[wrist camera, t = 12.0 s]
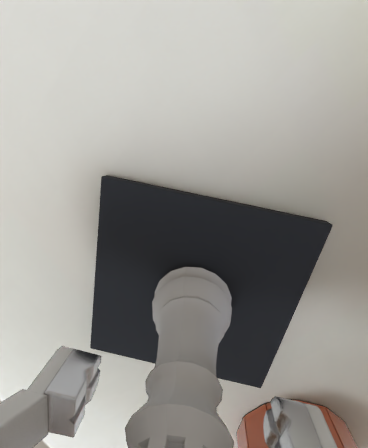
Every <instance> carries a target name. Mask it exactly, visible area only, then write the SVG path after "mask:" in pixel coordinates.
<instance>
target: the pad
mask: <svg viewBox="0 0 368 448" xmlns="http://www.w3.org/2000/svg"><path fill="white" fill-rule="evenodd" d="M331 228H332V224H330V223H329V222H327V221H323V220H318V219H313V218H308V217H304V216H299V215H294V214H289V213H284V212H280V211H275V210H270V209H265V208H261V207H256V206H251V205H246V204H241V203H237V202H232V201H227V200H222V199H217V198H213V197H208V196H203V195H198V194H194V193H189V192H184V191H179V190H174V189H170V188H165V187H160V186H155V185H151V184H146V183H141V182H136V181H131V180H127V179H122V178H117V177H112V176H108V175H106V176H102V180H101V196H100V211H99V226H98V241H97V256H96V272H95V287H94V302H93V317H92V333H91V348H92V349H96V350H101V351H105V352H109V353H113V354H118V355H122V356H126V357H130V358H135V359H139V360H143V361H147V362H152V363H156V359H157V352H158V341H159V335H158V333H157V331H156V325H155V323H154V321H153V309H152V301H153V299H154V297H155V290H156V288H157V286H158V283H159V281H160V280H161V279H162V278H163V277H164V276H166V275H167V274H168V273H169V272H170V271H173V270H176V269H180V268H183V267H197V268H203V269H205V270H208V271H210V272H212V273H215V274H216V275H217V276H218V277H219V278H220V279H222V280H223V281H224V282H225V283H226V284H227V287H228V289H229V292H230V294H231V297H232V300H231V307H232V314H231V322H230V326H229V328H228V329H227V331H226V332H225V334H224V337H223V338H222V340H221V341H220V343H219V345H218V351H217V360H216V377H217V378H220V379H224V380H229V381H233V382H237V383H241V384H246V385H250V386H254V387H258V388H261V387H262V384H263V382H264V380H265V377H266V375H267V373H268V371H269V368H270V366H271V364H272V362H273V359H274V357H275V355H276V353H277V350H278V348H279V346H280V343H281V341H282V339H283V337H284V334H285V332H286V330H287V328H288V325H289V323H290V321H291V319H292V316H293V314H294V312H295V310H296V307H297V305H298V303H299V300H300V298H301V296H302V294H303V291H304V289H305V287H306V285H307V282H308V280H309V278H310V276H311V273H312V271H313V269H314V266H315V264H316V262H317V260H318V257H319V255H320V253H321V251H322V248H323V246H324V244H325V242H326V239H327V237H328V235H329V233H330V230H331Z"/></svg>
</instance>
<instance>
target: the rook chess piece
mask: <svg viewBox="0 0 368 448" xmlns="http://www.w3.org/2000/svg"><path fill="white" fill-rule="evenodd" d="M231 300H232V297H231V294H230V292H229V289H228V287H227V284H226V283H225V282H224V281H223V280H222V279H220V278H219V277H218V276H217V275H216V274H215V273H212V272H210V271H208V270H205V269H203V268H197V267H183V268H180V269H176V270H173V271H170V272H169V273H168V274H167V275H166V276H164V277H163V278H162V279H161V280H160V281H159V283H158V286H157V288H156V290H155V297H154V299H153V301H152V309H153V321H154V323H155V325H156V331H157V333H158V335H159V341H158V352H157V359H156V364H155V368H154V369H153V370H152V371H151V372H150V373H149V375H148V377H147V379H146V392H147V395H148V401H147V403H146V404H144V405H143V406H142V407H141V408H140V409H139V410H138V411H137V412H136V413H134V414H133V415H132V416H131V418H130V420H129V422H128V424H127V425H126V427H125V432H126V441H127V445H128V448H233V445H234V441H233V439H232V437H231V435H230V433H229V431H228V429H227V427H226V426H225V424H224V423H223V421H222V420H221V418H220V417H219V416H218V414H217V410H216V407H217V406H218V404H219V403H220V402H221V401H222V392H223V389H222V387H221V385H220V382H219V380H218V378H217V377H216V360H217V351H218V345H219V343H220V341H221V340H222V338H223V337H224V334H225V332H226V331H227V329H228V328H229V326H230V322H231V314H232V307H231Z"/></svg>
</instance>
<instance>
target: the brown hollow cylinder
mask: <svg viewBox="0 0 368 448" xmlns="http://www.w3.org/2000/svg"><path fill="white" fill-rule="evenodd" d="M294 401H295V400H294ZM296 401H298V402H302V403H305V404H310V405H314V406H317V407H319V409H320V410H321V412H322V414H323V416H324V418H325V421H326V423H327V425H328V427H329V430H330V432H331V434H332V436H333V439H334V441H335V443H336V446H337V448H358V447H357V445H356V443H355V441H354V439H353V437H352V435H351V433H350V431H349V429H348V427H347V425H346V423H345V422H344V421H343V420H342V419H340V418H339V417H338V416H337V415H335V414H334V413H333V412H332V411H330V410H329V409H328V408H327V407H324V406H321V405H316V404H312V403H308V402H304V401H299V400H296ZM271 408H272V407H271V403H266V404H263V405H262V406H260V407H258V408H257V409H255V410H253V411H252V412H250V413H248V414H247V415H245V417H243V419H242V422H241V424H240V426H239V429H238V431H237V443H238V448H268V446H267V444H266V443H265V438H264V431H263V422H264V416H265V413H266V411H267V410H269V409H271Z"/></svg>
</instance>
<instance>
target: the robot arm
mask: <svg viewBox="0 0 368 448" xmlns="http://www.w3.org/2000/svg"><path fill="white" fill-rule="evenodd" d="M100 363H101V356H100V355H96V354H92V353H88V352H84V351H80V350H76V349H73V348H69V347H65V346H61V347H60V348H59V349H57V351H56V352H55V353H54V355H53V356H52V357H51V359H50V360H49V361H48V363H47V364H46V365H45V366H44V368H43V369H42V370H41V372H40V373H39V374H38V376H37V377H36V378H35V380H34V381H33V382H32V384H31V385H30V386H29V388H28V389H27V390H25V389H22V390H20V391H19V392H17V393H15V394H14V395H12V396H10V397H9V398H7V399H6V400H4V401H2V402H1V403H0V448H33V447H34V446H35V445H37V444H38V443H39V442H40V441H41V440H42V439H43V438H44V437H46V436H47V435H48V432H50V433H55V434H60V435H65V436H69V437H74V436H75V434H76V431H77V429H78V427H79V425H80V423H81V421H82V419H83V416H84V413H85V405H86V404H87V403H88V402H90V401H91V399H92V397H93V395H94V392H95V390H96V387H97V384H98V381H99V376H100V370H99V369H98V367H99V365H100ZM270 403H271V407H272V408H271V409H269V410H267V411H266V413H265V416H264V422H263V431H264V438H265V443H266V444H267V446H268V448H337V446H336V443H335V441H334V439H333V436H332V434H331V432H330V430H329V427H328V425H327V423H326V421H325V418H324V416H323V414H322V412H321V410H320V409H319V407H317V406H314V405H310V404H305V403H302V402H298V401H294V400H289V399H285V398H280V397H274V398H272V400H271V402H270Z"/></svg>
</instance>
